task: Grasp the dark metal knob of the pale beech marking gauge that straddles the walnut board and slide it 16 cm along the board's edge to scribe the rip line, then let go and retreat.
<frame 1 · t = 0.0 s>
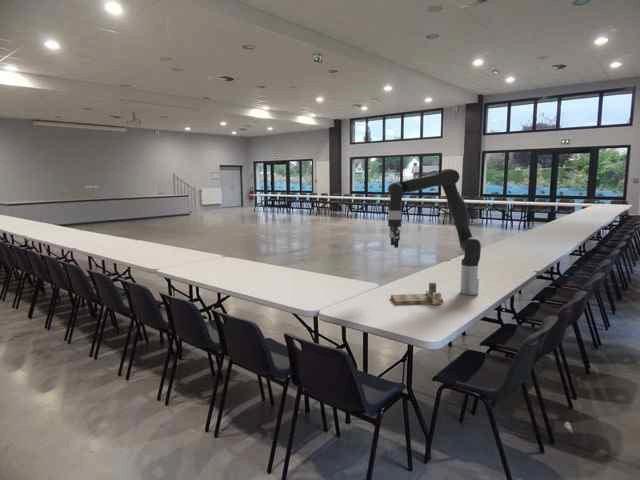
hand: (394, 246, 233), 29 cm above the table, fingers open, 8 cm apart
gauge: (432, 291, 226), point 5 cm above the table, slide at 0.0 cm
board: (416, 300, 227), on the table
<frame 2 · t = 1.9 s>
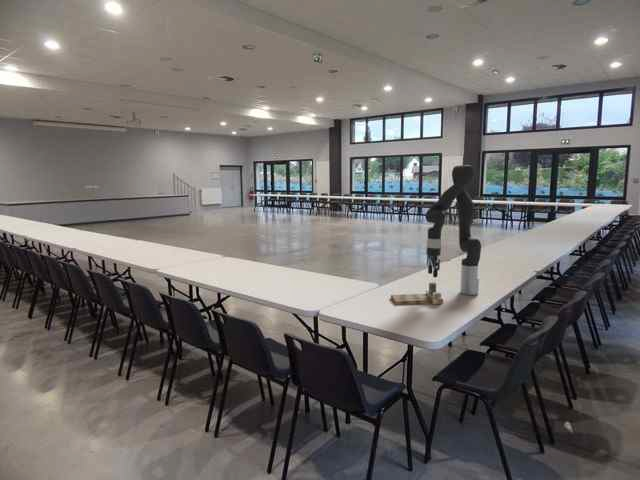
hand: (432, 275, 225), 14 cm above the table, fingers open, 8 cm apart
nothing on the table moved.
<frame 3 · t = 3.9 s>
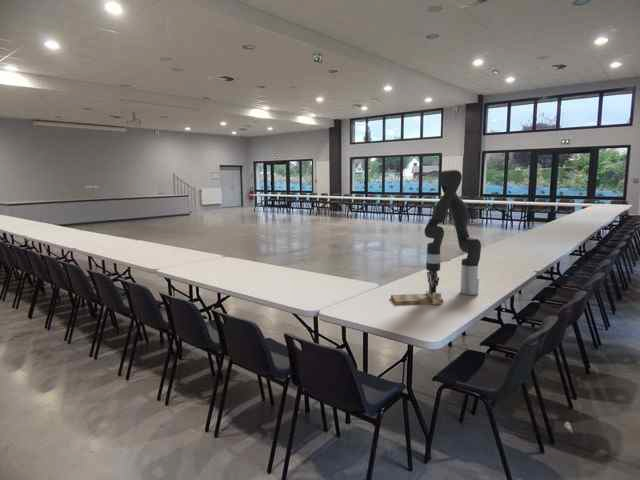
hand: (432, 291, 227), 5 cm above the table, fingers closed on gauge, 3 cm apart
gauge: (432, 291, 226), point 5 cm above the table, slide at 0.0 cm, touching gripper
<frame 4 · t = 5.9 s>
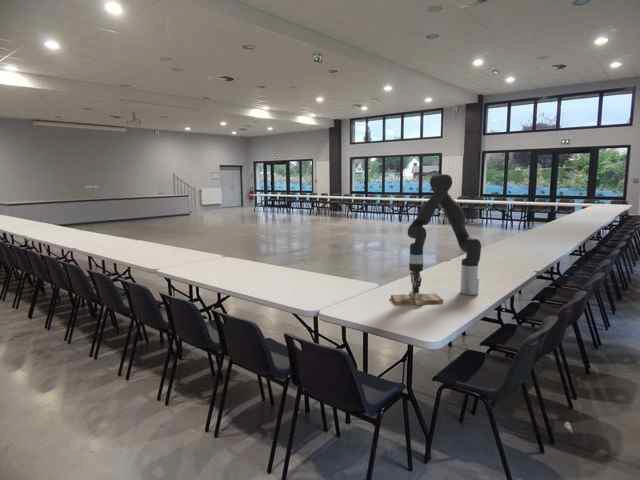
hand: (415, 292, 226), 5 cm above the table, fingers closed on gauge, 3 cm apart
gauge: (415, 292, 225), point 5 cm above the table, slide at 9.6 cm, touching gripper
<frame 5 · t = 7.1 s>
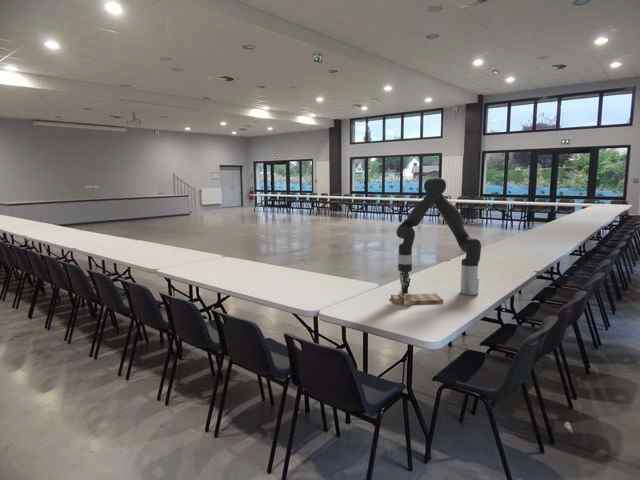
hand: (404, 292, 226), 5 cm above the table, fingers closed on gauge, 3 cm apart
gauge: (404, 292, 225), point 5 cm above the table, slide at 15.8 cm, touching gripper
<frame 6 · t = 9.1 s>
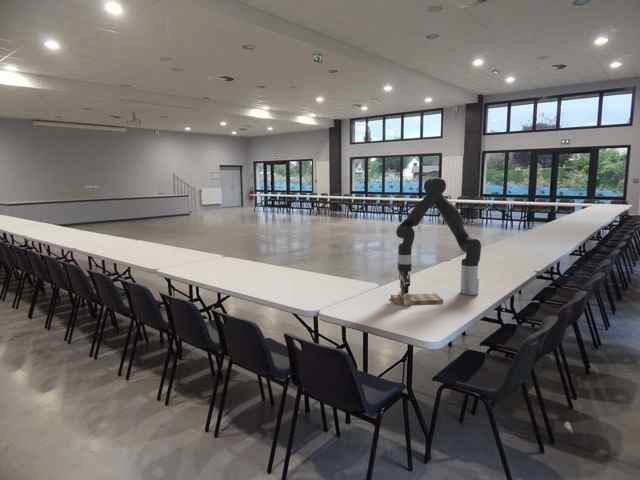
hand: (404, 290, 225), 6 cm above the table, fingers open, 8 cm apart
gauge: (404, 292, 225), point 5 cm above the table, slide at 16.0 cm
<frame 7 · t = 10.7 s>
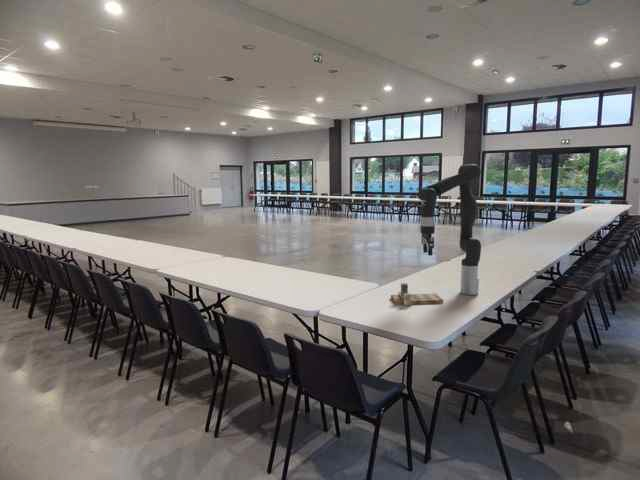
hand: (427, 253, 225), 26 cm above the table, fingers open, 8 cm apart
nothing on the table moved.
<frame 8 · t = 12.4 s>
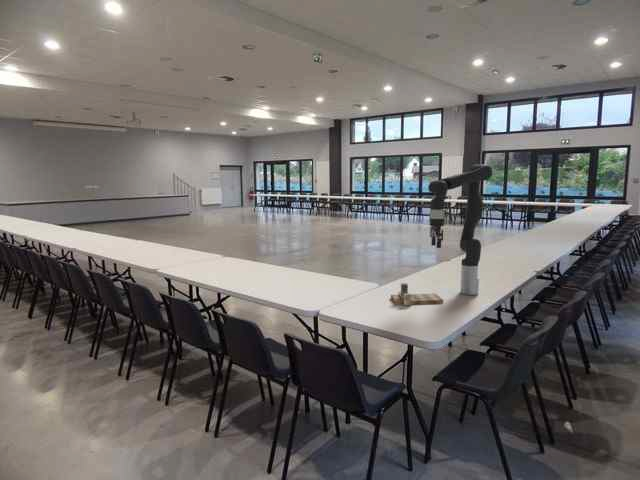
hand: (436, 246, 225), 30 cm above the table, fingers open, 8 cm apart
nothing on the table moved.
at the end: gauge slide at 16.0 cm; the gripper is holding nothing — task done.
